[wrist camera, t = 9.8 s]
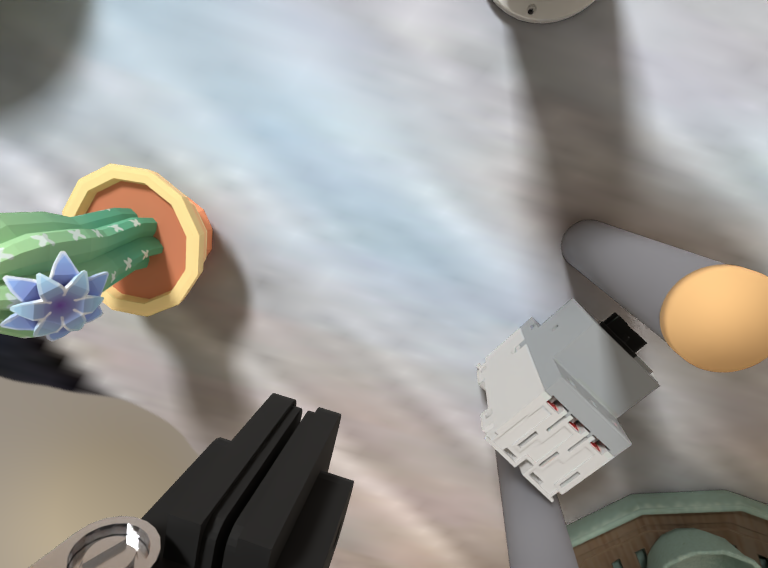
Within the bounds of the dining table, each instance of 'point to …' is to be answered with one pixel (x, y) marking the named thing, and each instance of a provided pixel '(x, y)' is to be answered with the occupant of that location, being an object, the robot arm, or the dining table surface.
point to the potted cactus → (100, 253)
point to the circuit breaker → (563, 395)
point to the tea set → (674, 532)
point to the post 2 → (677, 294)
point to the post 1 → (532, 523)
